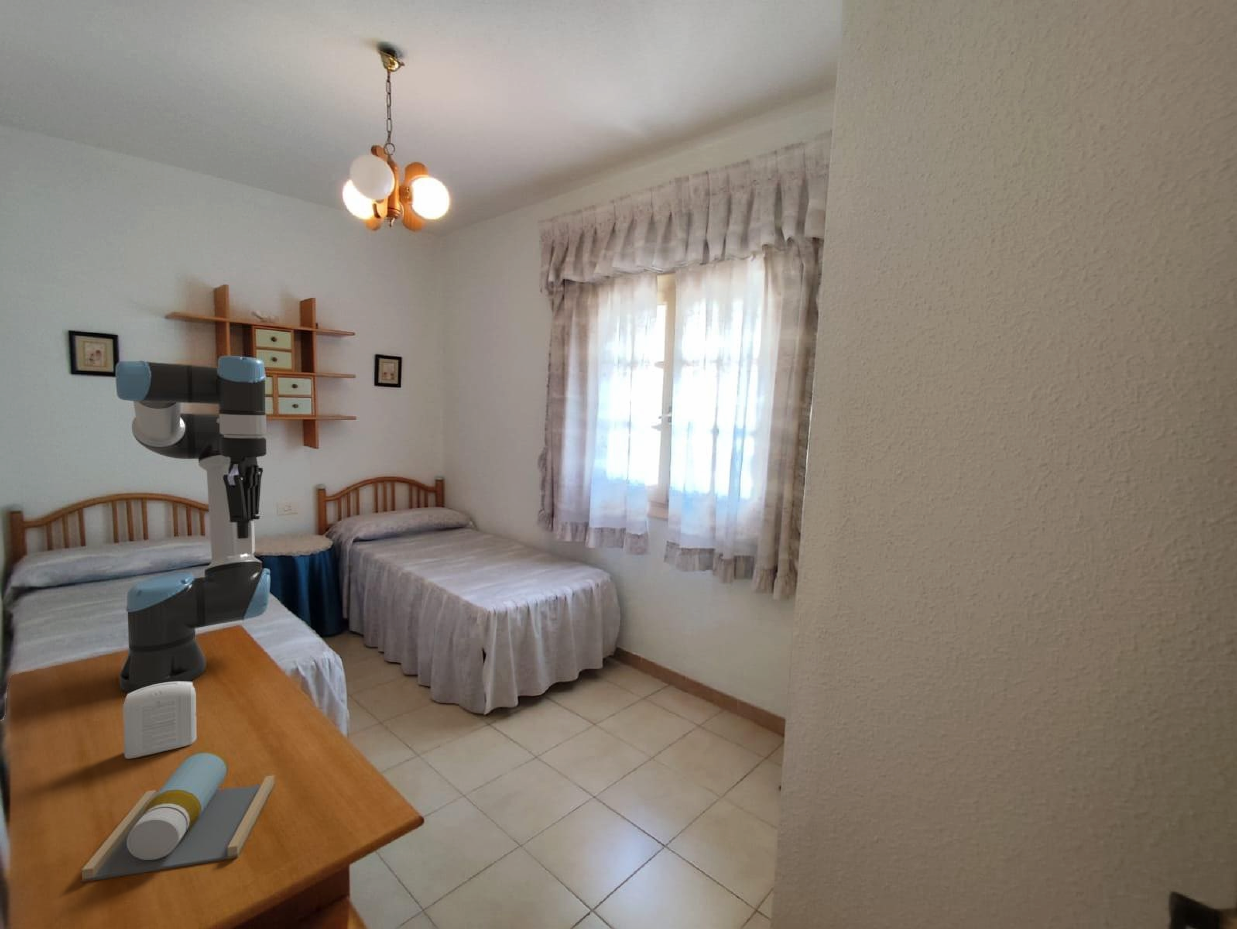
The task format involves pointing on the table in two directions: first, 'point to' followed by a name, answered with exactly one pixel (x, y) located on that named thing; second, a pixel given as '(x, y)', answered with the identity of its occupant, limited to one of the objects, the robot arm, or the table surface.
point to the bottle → (177, 805)
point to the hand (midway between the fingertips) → (245, 552)
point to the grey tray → (186, 834)
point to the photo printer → (159, 718)
